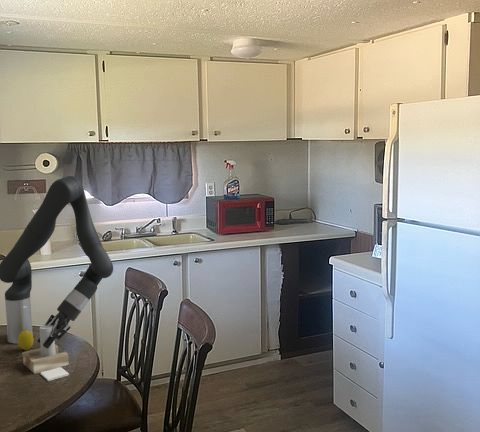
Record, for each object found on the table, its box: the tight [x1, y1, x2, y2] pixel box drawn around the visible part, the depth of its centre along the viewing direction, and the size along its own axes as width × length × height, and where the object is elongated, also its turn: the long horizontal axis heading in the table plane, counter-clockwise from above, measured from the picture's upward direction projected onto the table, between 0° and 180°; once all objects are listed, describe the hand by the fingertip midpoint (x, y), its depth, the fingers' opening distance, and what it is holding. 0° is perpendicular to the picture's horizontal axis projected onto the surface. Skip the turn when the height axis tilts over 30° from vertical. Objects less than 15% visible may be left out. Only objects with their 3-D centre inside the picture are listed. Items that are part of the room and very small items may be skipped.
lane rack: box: [21, 343, 70, 375], centre depth 192 cm, size 12×12×4 cm
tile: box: [40, 367, 70, 382], centre depth 183 cm, size 7×7×1 cm
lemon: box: [17, 330, 34, 351], centre depth 204 cm, size 6×6×8 cm
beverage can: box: [38, 324, 56, 358], centre depth 192 cm, size 5×5×12 cm
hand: (42, 344), depth 191 cm, fingers closed on beverage can, 4 cm apart
